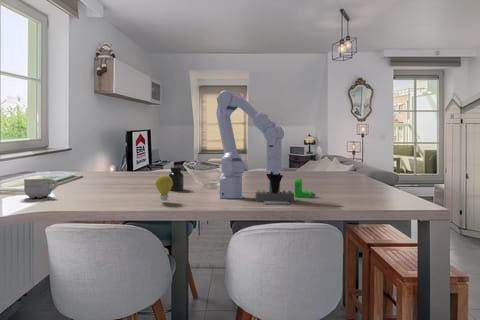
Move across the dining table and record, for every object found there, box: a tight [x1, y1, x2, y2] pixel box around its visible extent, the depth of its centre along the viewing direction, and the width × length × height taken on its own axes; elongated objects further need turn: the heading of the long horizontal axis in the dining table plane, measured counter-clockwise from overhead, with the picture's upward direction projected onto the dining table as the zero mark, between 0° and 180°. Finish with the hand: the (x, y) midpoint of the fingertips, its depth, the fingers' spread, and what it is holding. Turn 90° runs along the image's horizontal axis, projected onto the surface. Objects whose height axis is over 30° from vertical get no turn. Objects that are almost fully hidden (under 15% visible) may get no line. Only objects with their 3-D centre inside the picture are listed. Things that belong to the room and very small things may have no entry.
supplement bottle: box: [168, 166, 185, 192], centre depth 184 cm, size 7×7×12 cm
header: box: [254, 189, 295, 203], centre depth 154 cm, size 14×8×4 cm, turn 90°
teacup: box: [23, 178, 58, 198], centre depth 165 cm, size 14×11×8 cm
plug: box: [267, 179, 281, 193], centre depth 154 cm, size 4×4×8 cm
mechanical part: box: [294, 177, 313, 199], centre depth 169 cm, size 12×6×8 cm, turn 161°
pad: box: [263, 201, 291, 206], centre depth 145 cm, size 9×8×1 cm
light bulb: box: [155, 174, 173, 202], centre depth 154 cm, size 7×7×10 cm
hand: (274, 192), depth 154 cm, fingers open, 7 cm apart
